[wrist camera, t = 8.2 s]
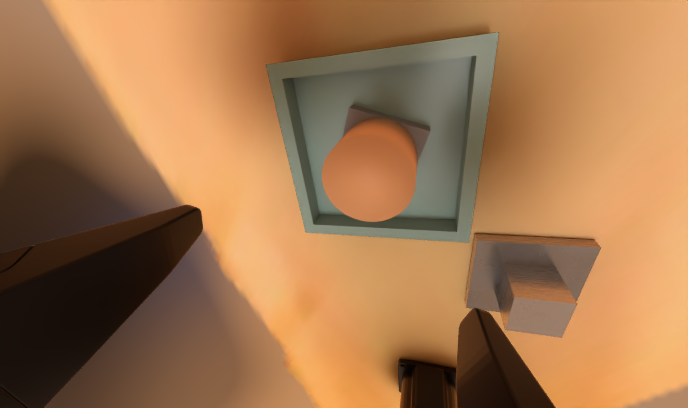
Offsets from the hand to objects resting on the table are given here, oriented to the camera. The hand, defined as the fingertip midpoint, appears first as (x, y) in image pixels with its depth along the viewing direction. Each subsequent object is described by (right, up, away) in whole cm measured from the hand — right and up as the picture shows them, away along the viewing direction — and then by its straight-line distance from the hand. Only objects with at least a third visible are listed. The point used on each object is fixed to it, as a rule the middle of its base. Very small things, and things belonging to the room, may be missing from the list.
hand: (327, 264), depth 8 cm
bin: (+3, +6, +9) cm, 11 cm away
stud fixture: (+14, -3, +11) cm, 18 cm away
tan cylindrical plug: (+3, +5, +9) cm, 11 cm away
